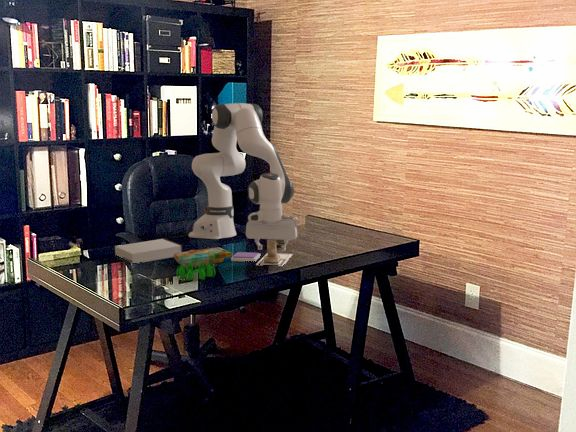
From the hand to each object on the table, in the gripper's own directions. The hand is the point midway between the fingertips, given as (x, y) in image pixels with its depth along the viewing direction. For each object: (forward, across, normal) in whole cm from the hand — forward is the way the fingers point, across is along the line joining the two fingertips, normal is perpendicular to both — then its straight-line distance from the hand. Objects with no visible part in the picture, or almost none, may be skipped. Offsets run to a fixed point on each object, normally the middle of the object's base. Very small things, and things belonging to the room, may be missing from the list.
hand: (271, 249), depth 258 cm
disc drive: (+6, +53, -4) cm, 54 cm away
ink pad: (+5, +12, -4) cm, 14 cm away
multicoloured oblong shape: (+6, +28, +3) cm, 28 cm away
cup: (+5, +2, -28) cm, 29 cm away
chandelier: (+6, +23, +24) cm, 33 cm away
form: (+5, 0, -4) cm, 7 cm away
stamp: (+5, 0, 0) cm, 5 cm away
